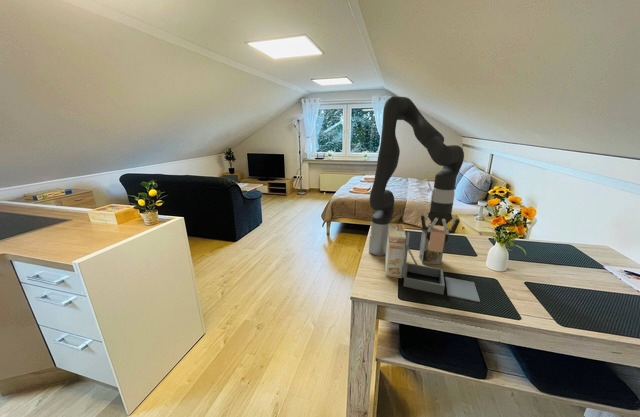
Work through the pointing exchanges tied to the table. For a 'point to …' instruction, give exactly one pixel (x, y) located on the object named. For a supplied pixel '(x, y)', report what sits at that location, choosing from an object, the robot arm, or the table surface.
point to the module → (437, 239)
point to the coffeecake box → (395, 250)
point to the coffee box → (427, 255)
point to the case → (421, 270)
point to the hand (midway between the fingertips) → (436, 240)
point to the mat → (461, 289)
